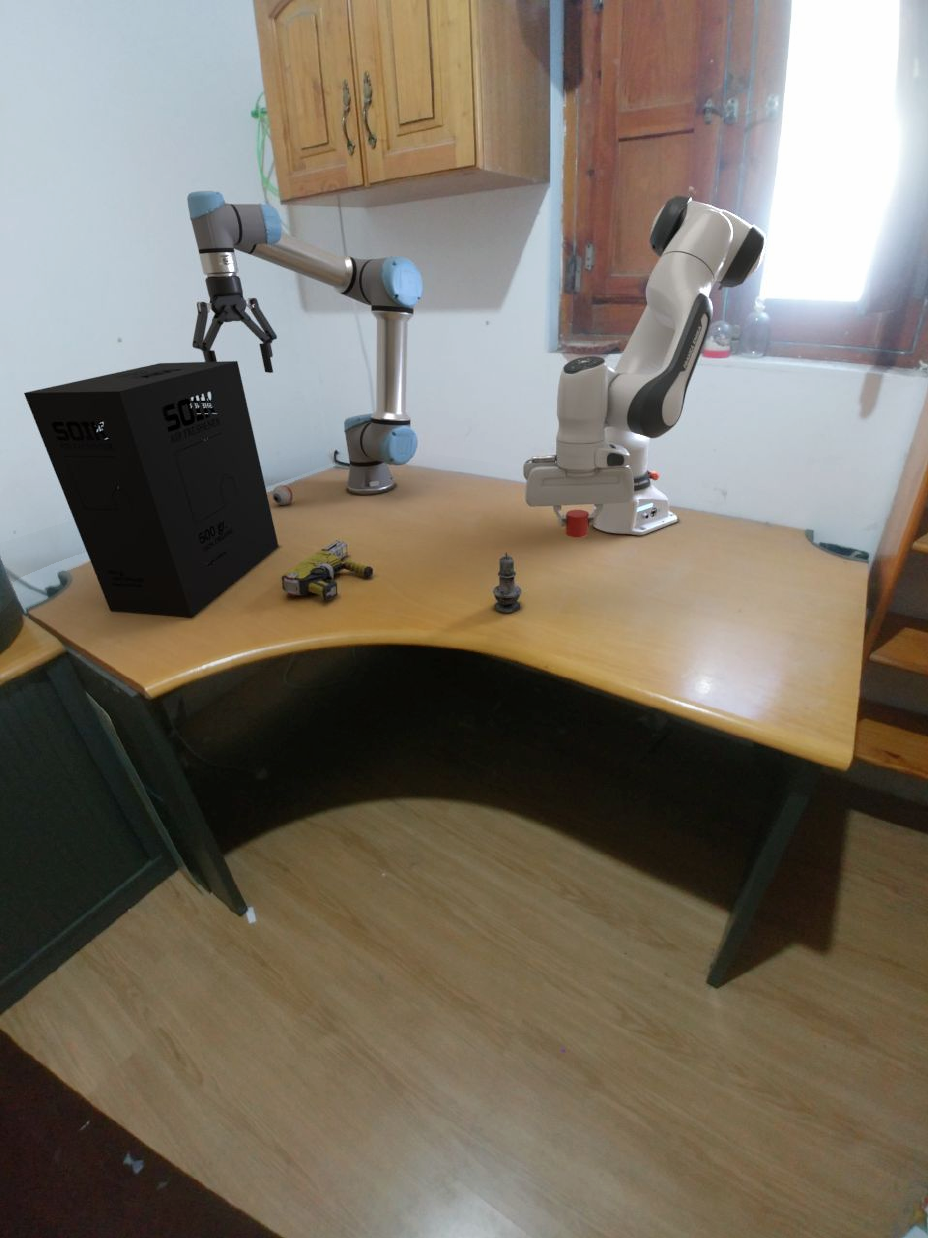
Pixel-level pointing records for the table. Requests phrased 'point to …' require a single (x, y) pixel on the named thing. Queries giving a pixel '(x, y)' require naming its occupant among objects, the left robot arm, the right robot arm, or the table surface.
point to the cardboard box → (160, 481)
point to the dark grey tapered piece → (507, 586)
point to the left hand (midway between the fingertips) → (244, 376)
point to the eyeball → (282, 495)
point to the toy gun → (321, 572)
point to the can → (577, 523)
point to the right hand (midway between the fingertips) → (577, 525)
